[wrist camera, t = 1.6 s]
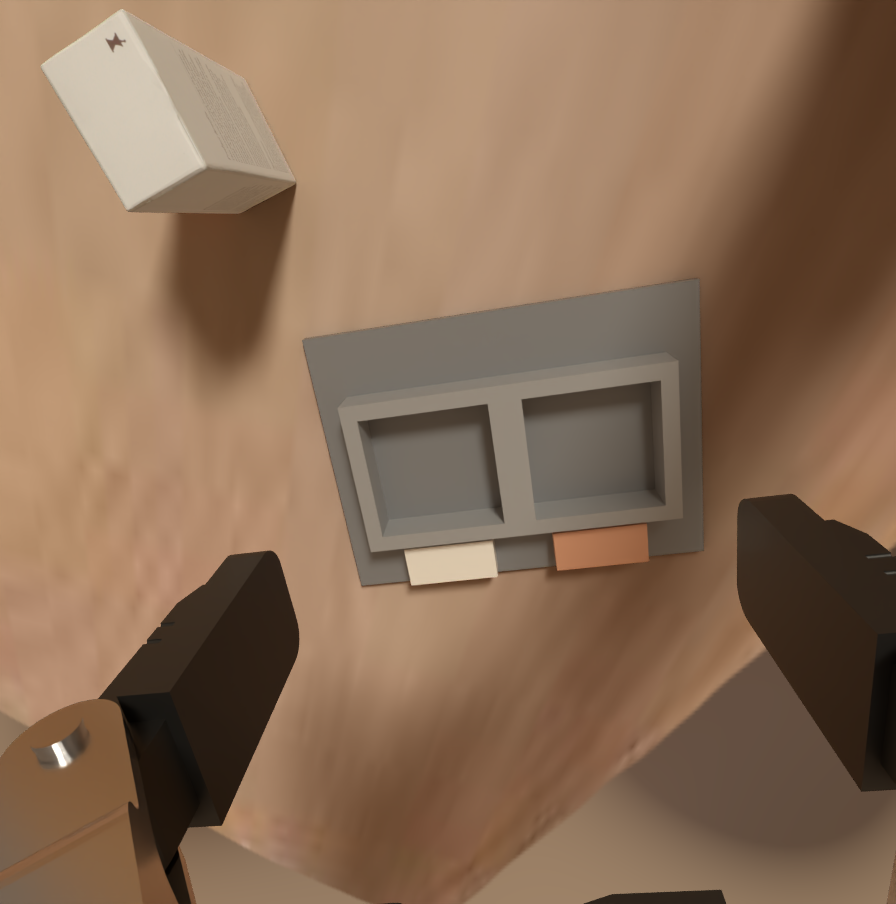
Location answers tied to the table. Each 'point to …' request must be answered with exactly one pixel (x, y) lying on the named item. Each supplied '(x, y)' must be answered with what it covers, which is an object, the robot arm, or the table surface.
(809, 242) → the table surface
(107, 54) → the skincare box
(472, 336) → the tray
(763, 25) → the table surface
